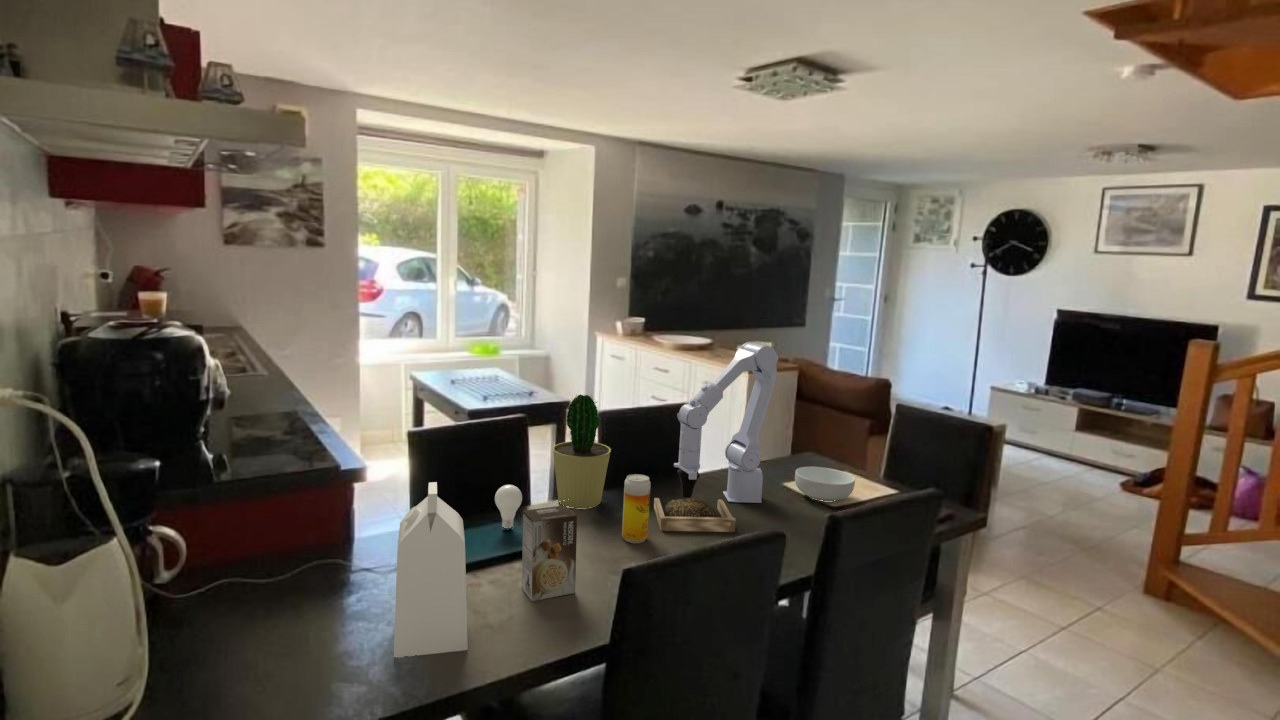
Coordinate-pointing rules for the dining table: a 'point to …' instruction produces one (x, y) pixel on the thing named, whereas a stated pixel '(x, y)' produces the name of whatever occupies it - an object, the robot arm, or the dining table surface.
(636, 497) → the beer can
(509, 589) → the dining table surface
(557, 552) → the coffee box
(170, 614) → the dining table surface
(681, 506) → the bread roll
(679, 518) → the tray
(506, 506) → the lightbulb
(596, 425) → the potted cactus
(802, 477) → the cereal bowl
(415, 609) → the milk
